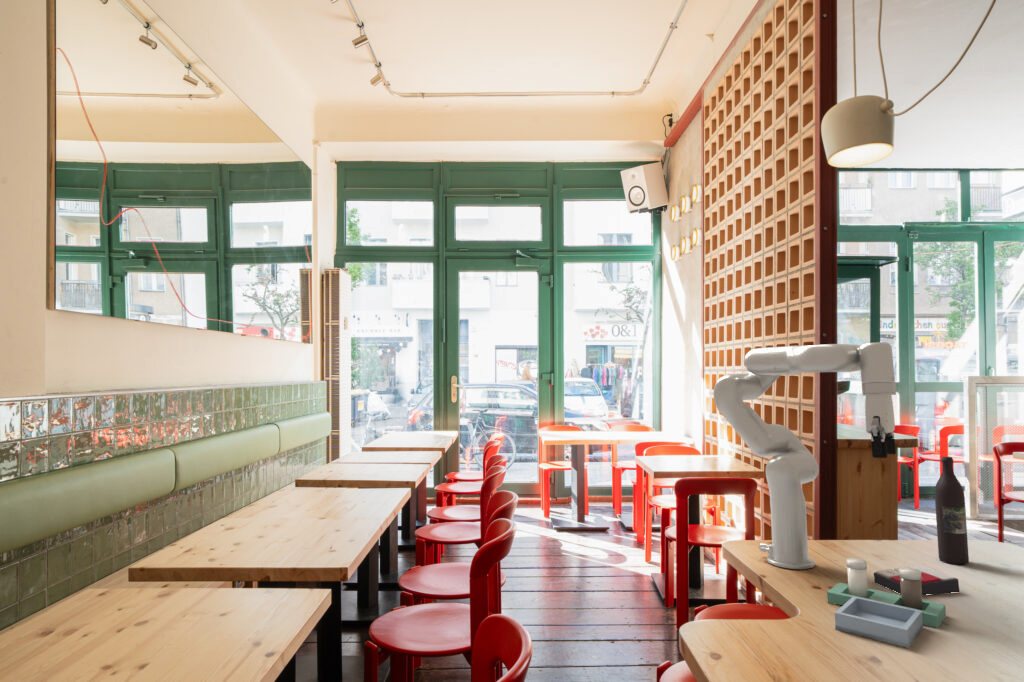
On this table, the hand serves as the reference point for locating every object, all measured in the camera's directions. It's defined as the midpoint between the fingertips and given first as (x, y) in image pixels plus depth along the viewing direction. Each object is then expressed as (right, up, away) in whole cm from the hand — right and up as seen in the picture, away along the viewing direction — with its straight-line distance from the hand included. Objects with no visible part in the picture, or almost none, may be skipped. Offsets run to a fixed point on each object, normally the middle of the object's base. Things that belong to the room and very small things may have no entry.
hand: (884, 455), depth 156 cm
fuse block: (-9, -33, -15) cm, 38 cm away
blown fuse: (-6, -33, -19) cm, 38 cm away
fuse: (-13, -33, -12) cm, 38 cm away
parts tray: (-17, -32, -26) cm, 45 cm away
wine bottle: (+32, -34, +18) cm, 50 cm away
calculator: (+7, -34, -2) cm, 35 cm away
